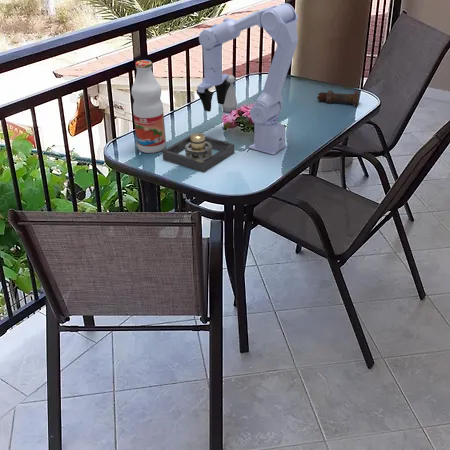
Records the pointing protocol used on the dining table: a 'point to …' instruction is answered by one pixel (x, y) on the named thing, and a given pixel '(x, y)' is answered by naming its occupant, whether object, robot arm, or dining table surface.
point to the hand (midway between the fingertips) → (214, 107)
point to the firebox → (198, 153)
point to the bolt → (339, 97)
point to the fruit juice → (148, 110)
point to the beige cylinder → (197, 142)
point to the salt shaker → (230, 96)
